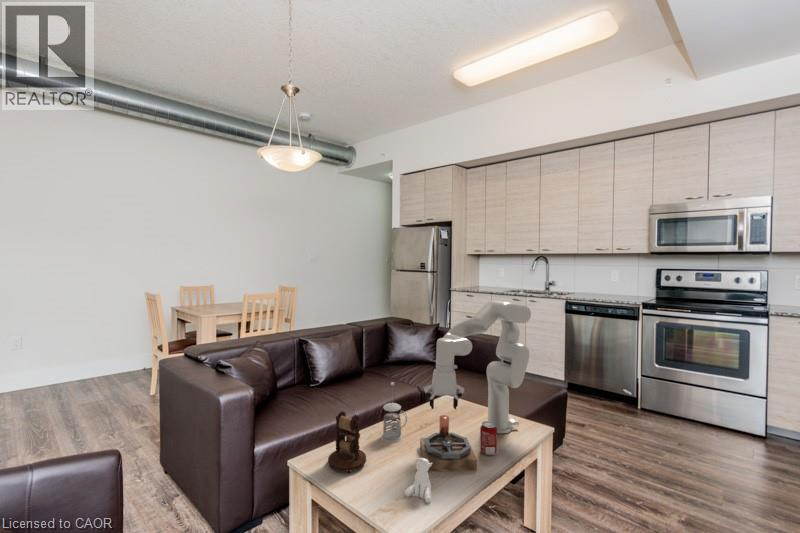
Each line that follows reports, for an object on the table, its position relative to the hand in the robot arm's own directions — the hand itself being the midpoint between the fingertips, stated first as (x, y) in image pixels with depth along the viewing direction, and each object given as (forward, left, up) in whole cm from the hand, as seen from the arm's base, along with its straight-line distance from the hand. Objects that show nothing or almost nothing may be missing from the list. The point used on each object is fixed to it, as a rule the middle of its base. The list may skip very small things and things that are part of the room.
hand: (443, 407), depth 161 cm
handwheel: (0, +8, -13) cm, 15 cm away
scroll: (+40, +11, -18) cm, 45 cm away
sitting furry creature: (+13, +30, -18) cm, 37 cm away
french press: (+21, -10, -18) cm, 29 cm away
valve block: (0, +8, -17) cm, 19 cm away
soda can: (-18, +4, -18) cm, 26 cm away
